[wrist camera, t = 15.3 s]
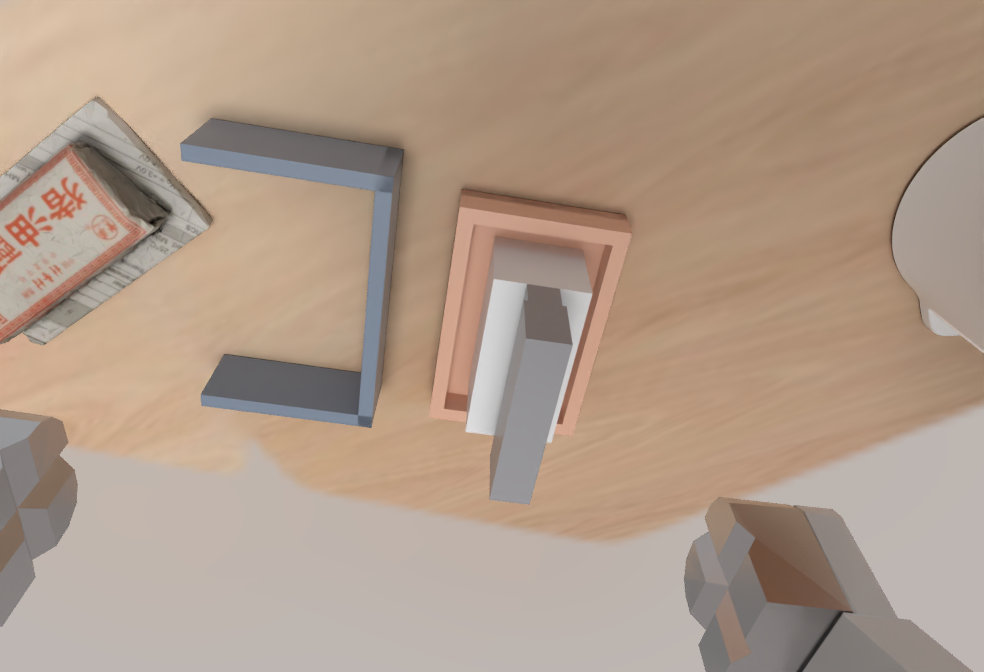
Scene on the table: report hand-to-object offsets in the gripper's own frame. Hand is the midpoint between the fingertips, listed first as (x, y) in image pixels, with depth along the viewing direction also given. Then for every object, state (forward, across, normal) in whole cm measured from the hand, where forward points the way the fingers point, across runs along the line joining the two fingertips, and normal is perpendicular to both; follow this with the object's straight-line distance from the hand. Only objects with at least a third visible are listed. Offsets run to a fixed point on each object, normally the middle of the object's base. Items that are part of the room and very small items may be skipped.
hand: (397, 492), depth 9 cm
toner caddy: (+36, -6, +19) cm, 41 cm away
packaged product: (+38, +25, +18) cm, 49 cm away
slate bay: (+37, +10, +18) cm, 42 cm away
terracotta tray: (+37, -6, +19) cm, 42 cm away
